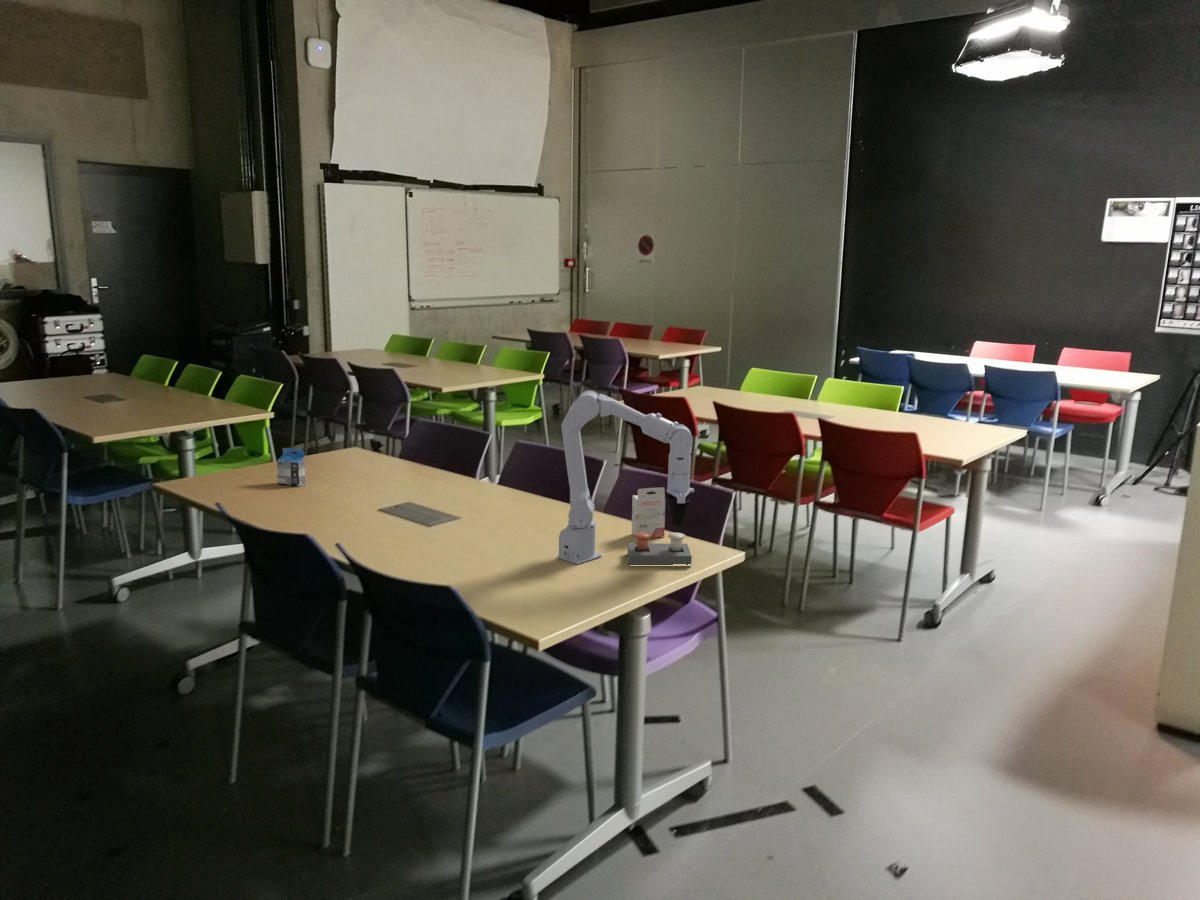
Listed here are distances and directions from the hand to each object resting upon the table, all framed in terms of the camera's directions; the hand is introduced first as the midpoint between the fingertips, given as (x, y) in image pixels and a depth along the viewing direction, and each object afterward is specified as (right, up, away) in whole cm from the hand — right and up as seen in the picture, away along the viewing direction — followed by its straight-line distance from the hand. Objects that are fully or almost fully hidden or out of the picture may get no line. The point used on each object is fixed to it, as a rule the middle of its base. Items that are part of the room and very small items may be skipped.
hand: (677, 522), depth 230 cm
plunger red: (-9, -7, +1) cm, 12 cm away
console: (-5, -10, +2) cm, 11 cm away
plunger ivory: (0, -7, +1) cm, 7 cm away
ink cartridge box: (-6, -6, +23) cm, 24 cm away
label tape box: (-126, +7, +71) cm, 145 cm away
